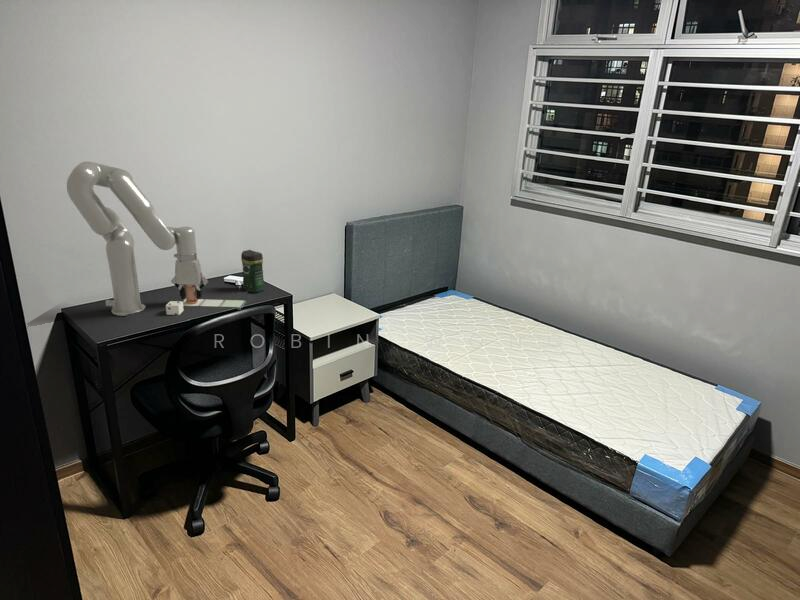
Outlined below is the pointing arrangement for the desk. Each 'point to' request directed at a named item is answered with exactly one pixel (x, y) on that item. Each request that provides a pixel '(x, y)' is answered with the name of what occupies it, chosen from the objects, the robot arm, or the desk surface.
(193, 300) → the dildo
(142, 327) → the desk surface
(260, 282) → the coffee jar
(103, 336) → the desk surface
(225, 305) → the board
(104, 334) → the desk surface
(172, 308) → the die
